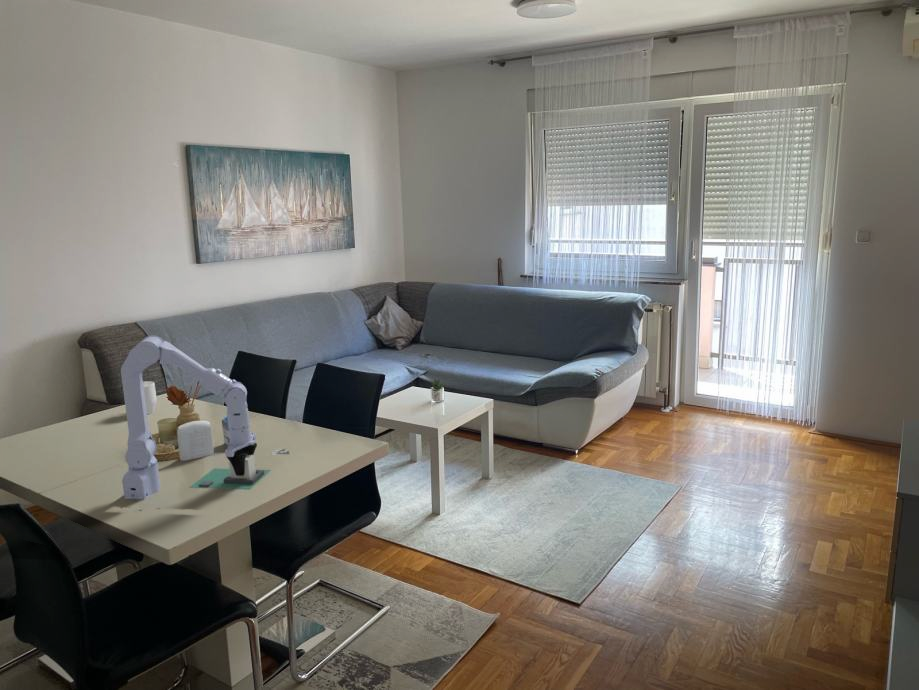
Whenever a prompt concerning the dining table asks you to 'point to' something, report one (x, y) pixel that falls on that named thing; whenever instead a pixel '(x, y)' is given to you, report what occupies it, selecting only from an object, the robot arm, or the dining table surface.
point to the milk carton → (225, 431)
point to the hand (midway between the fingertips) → (243, 472)
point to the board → (227, 480)
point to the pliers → (280, 451)
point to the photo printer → (195, 440)
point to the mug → (149, 396)
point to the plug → (249, 468)
